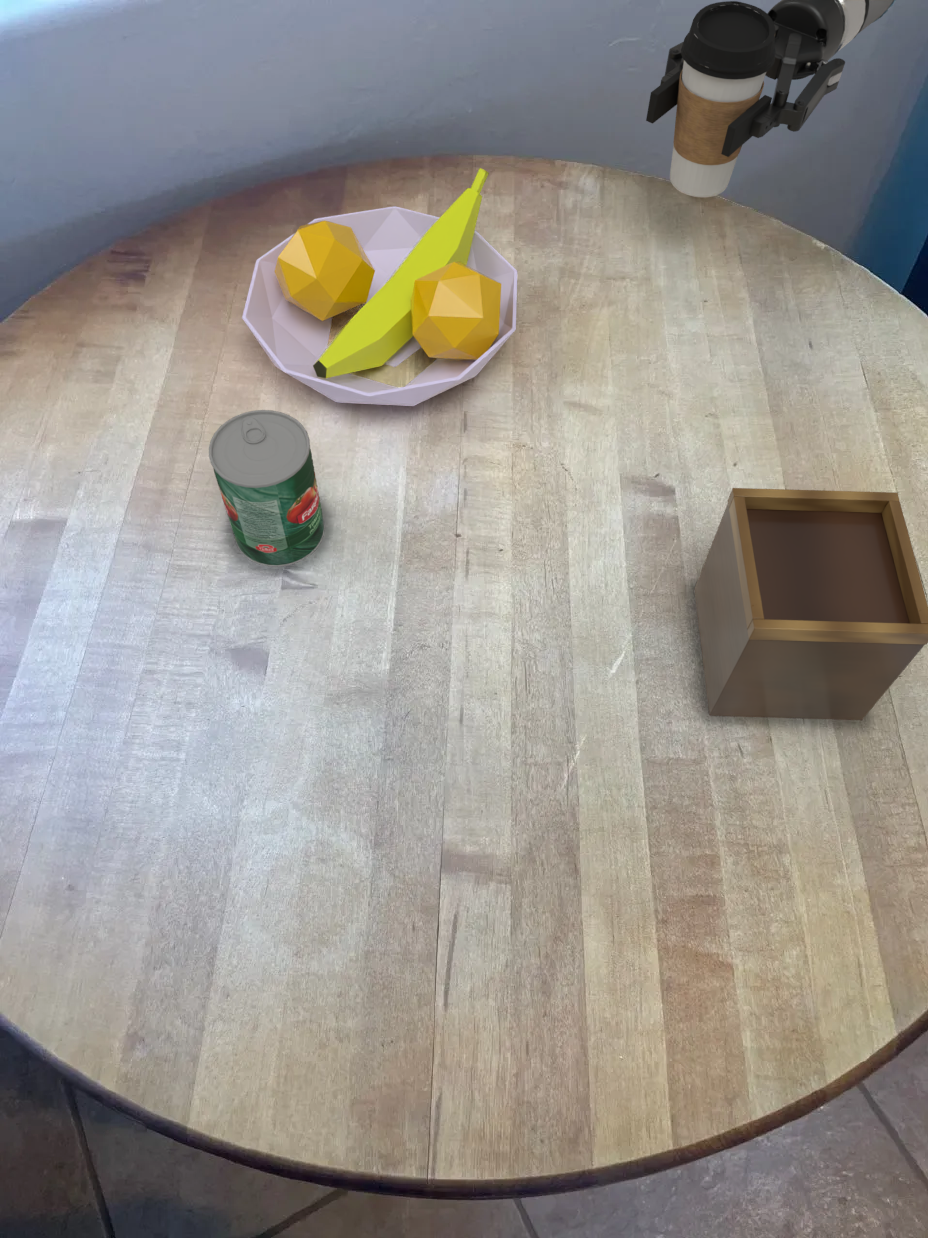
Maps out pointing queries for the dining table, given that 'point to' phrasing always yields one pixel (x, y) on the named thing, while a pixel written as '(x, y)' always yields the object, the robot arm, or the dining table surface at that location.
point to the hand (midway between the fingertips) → (689, 124)
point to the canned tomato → (268, 486)
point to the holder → (808, 604)
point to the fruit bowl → (384, 300)
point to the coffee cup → (717, 91)
